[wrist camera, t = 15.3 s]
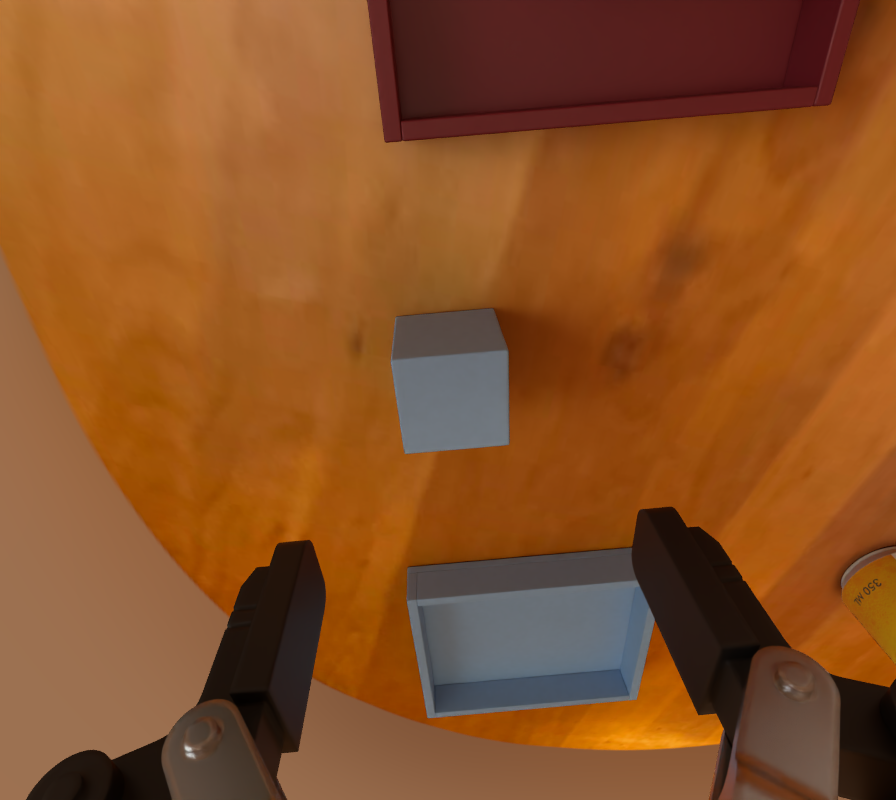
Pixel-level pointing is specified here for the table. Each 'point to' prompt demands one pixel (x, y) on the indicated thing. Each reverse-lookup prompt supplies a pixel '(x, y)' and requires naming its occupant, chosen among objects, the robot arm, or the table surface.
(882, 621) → the beer can
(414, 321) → the blue block
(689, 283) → the table surface
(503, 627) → the blue tray
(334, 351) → the table surface
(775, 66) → the burgundy tray
